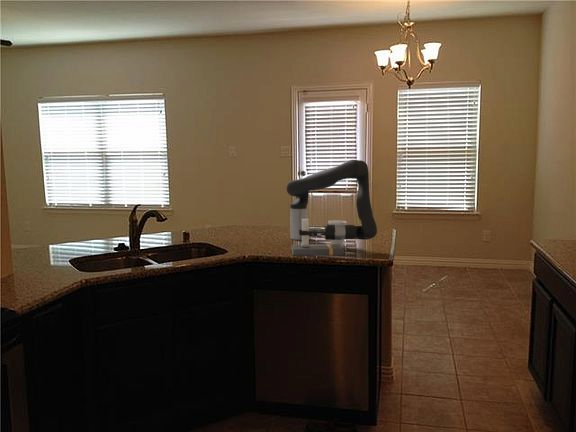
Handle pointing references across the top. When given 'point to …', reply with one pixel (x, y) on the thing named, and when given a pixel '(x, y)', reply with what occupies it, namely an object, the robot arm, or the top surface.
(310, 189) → the robot arm
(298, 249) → the console
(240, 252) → the top surface
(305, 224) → the fader tab
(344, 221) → the foam cup
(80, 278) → the top surface
